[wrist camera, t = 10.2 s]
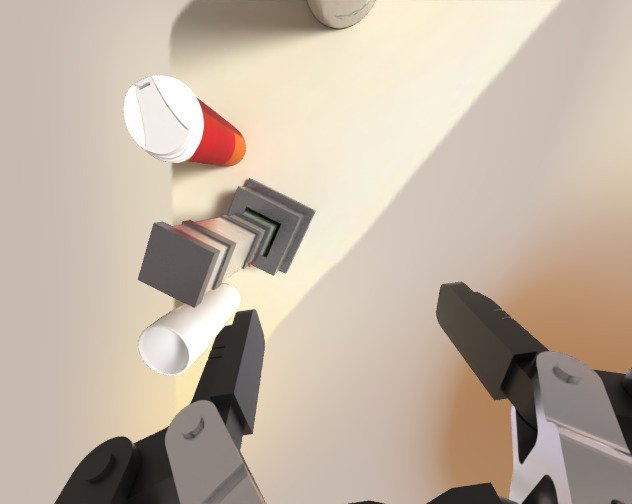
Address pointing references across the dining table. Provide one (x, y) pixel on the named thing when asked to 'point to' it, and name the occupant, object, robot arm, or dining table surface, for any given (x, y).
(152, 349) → the drinking glass
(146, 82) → the paper cup
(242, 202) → the sleeve
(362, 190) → the dining table surface
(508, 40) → the dining table surface
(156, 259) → the column
